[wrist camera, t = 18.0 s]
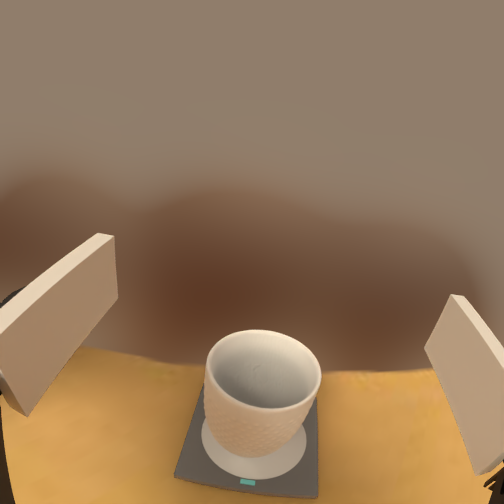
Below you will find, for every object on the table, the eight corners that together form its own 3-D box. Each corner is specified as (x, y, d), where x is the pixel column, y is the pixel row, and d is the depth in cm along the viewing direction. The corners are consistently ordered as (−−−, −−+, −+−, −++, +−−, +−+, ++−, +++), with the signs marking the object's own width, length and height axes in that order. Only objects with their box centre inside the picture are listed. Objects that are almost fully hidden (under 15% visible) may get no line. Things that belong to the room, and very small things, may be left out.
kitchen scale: (174, 477, 26) (173, 473, 26) (204, 383, 41) (205, 378, 40) (315, 498, 25) (318, 495, 25) (314, 401, 40) (316, 396, 40)
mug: (260, 376, 42) (276, 303, 37) (323, 415, 36) (356, 345, 31) (182, 432, 31) (180, 360, 26) (253, 489, 25) (277, 434, 20)
